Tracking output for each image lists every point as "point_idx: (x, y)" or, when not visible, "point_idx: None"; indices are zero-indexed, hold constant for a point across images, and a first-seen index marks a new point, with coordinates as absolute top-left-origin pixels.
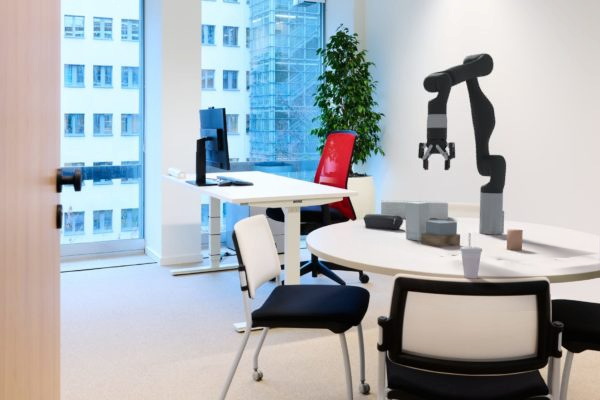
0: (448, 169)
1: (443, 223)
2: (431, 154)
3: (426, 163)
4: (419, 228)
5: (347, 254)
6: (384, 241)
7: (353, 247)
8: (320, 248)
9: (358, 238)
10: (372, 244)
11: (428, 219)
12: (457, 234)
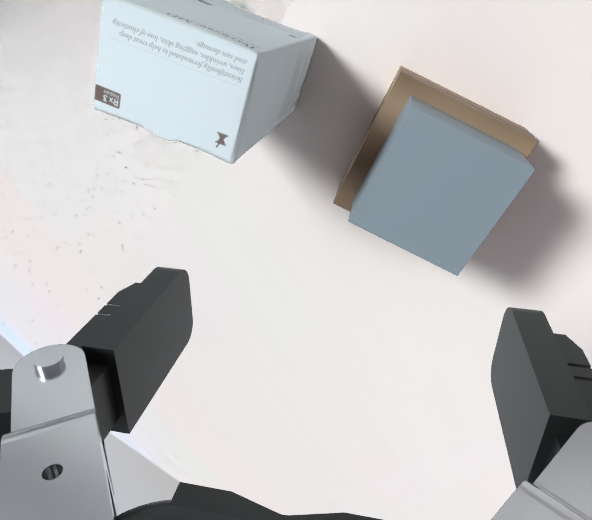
0: (539, 320)
1: (471, 254)
2: (97, 429)
3: (151, 372)
4: (277, 124)
5: (271, 503)
6: (181, 214)
7: (201, 399)
8: (148, 453)
9: (53, 196)
10: (201, 312)
11: (289, 58)
12: (523, 148)
